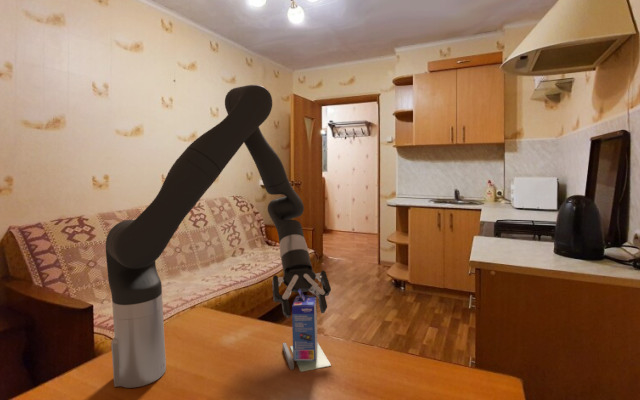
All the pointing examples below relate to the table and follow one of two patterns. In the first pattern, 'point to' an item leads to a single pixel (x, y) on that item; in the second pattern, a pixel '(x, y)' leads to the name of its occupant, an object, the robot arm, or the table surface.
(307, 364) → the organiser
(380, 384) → the table surface
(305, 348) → the ink cartridge box
